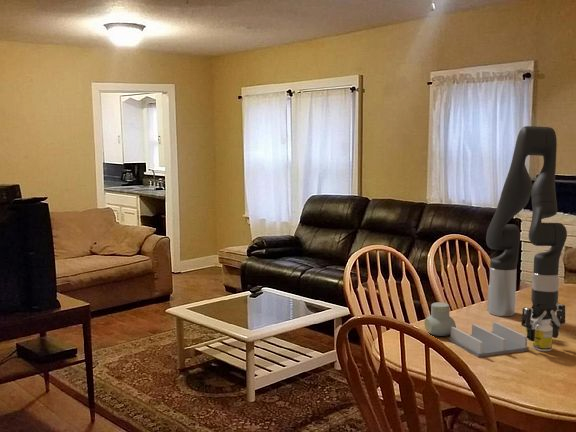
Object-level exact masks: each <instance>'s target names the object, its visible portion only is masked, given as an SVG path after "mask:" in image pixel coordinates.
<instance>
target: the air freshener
mask: <svg viewBox="0 0 576 432" xmlns="http://www.w3.org/2000/svg"><path fill="white" fill-rule="evenodd" d="M430 306H431V307H430V309H431V310H430V315H428V316H427V317H426V318H425V319H424V322H423V323H424V327H425V330H426V332H428V333H429V334H430V335H432V336H437V337H445V336H446V337H447V336H451V327H455V328H457V324H456V322H455V320H454V318H453V317H451V316H450V305H449V304H448V303H447V302H440V301H439V302H433V303H431V305H430Z"/></svg>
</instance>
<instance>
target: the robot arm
mask: <svg viewBox="0 0 576 432" xmlns="http://www.w3.org/2000/svg"><path fill="white" fill-rule="evenodd" d="M557 141H558V140H557V134H556V131H555V129H554V128H552V127H551V126H536V125H535V126H534V125H531V126H529V125H526V126H523V127H521V129H520V130H519V132H518V135H517V137H516V141H515V144H514V145H515V146H514V151H513V154H512V159H511V162H510V166H509V170H508V173H507V176H506V178H505V181H504V184H503V187H502V190H501V193H500V196H499V197H500V198H499V201H498V204H497V207H496V210H495V213H494V214H493V217H492V219H491V221H490V223H489V225H488V227H487V230H486V235H485V242H486V245H487V248H489V249H491V250H494V251H495V250H496V251H497V250H498V251H499V250H502V251H503V250H504V251H503V252H502V253H500V255H498V256H495V257H493V258H491V259H490V261H489V283H488V284H489V285H488V286H487V302H486V306H487V307H486V311H488V313H489V314H491V315H494V316H497V317H512V316H514V315H516V314H515V313H516V312H515V311H516V297H517V296H516V292H517V268H518V267H517V265H518V261H519V251H520V241H521V240H520V239H521V234H520V229H519V227H518V226H517V225H516V224H513V223H511V224H509V223H508V222H509V221H510V220H511V219H513V218H514V217H515V216H517V215H518V214H519V213H520V212H521V211H522V210H523V209H525V207H526V206H527V205H528V203H529V201H530V198H531V206H532V208H531V209H532V213H531V214H532V215H531V221H530V227H529V231H528V240H529V242H530V243H531V245H533V246H537V247H550V248H549V249H548V250H547V251H544V252H539V253H536V254H535V255H534V257H533V273H532V279H531V299H530V300H531V303H532V305H531V307H527V306H524V307H523V308H522V313H521V326H522V327H524V328H525V329H526V328H527V331H526V336H527V340H529V341H530V342H533V341H535V327H536V326H537V324H539V323H540V322H541V320H544V319H551V320H550V325H551V326H552V328H553V332H552V339H553V338H554V339H557V338H558V337H559V334H560V326H561V325H564V324H566V306H565V305H564V304H562V303H559V289H560V288H559V285H560V278H559V271H560V270H559V267H560V266H559V264H560V260H561V255H562V252H563V249H564V247H565V243H566V240H567V238H568V231H567V228H566V226H565V225H564V224H563V223H561V222H542V220H543V219H548V218H552V217H555V215H557V214H558V202H557V201H558V200H557V192H556V170H557V145H558V142H557ZM528 156H540V157H541V156H542V157H543V165H542V168H541V170H540V172H539V174H538V176H537V177H536V178H535V180H534V182H533V181H532V178H531V176H530V173H529V172H528V170H527V166H526V159H527V157H528ZM507 223H508V224H507ZM534 318H536V319H534ZM532 323H533V324H532Z"/></svg>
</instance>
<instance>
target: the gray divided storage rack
mask: <svg viewBox="0 0 576 432" xmlns="http://www.w3.org/2000/svg"><path fill="white" fill-rule="evenodd" d="M448 341H449V342H451V343H452V344H454V345H456V346H457V347H459V348H461V349H463V350H465V351H466V352H468V353H470V354H472V355H474V356H475V357H477V358H484V357H490V356H498V355H506V354H512V353H520V352H526V351H529V348H530V347H529V346H528V338H527V335H525V334H523V333H520V332H519V331H516V330H514V329H512V328H511V327H508V326H505V325H504V324H501V323H499V322H496V321H492V331H489V330H488V329H486V328H484V327H482V326H479V325H477V324H475V323H472V324H471V334H468V333H466V332H465V331H463V330H460V329H459V328H457V327H456V328H455V327H451V334H450V336H449V337H448Z"/></svg>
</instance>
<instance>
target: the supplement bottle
mask: <svg viewBox="0 0 576 432" xmlns="http://www.w3.org/2000/svg"><path fill="white" fill-rule="evenodd" d="M550 320H551V319H544V320H541V322H540V323H539V324H537V326H536V327H535V341H532V348H533V349H534V350H536V351H538V352H539V351H540V352H551V350H552V347H553V337H552V332H553V328H552V326H551V325H552V324H551V321H550Z"/></svg>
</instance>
